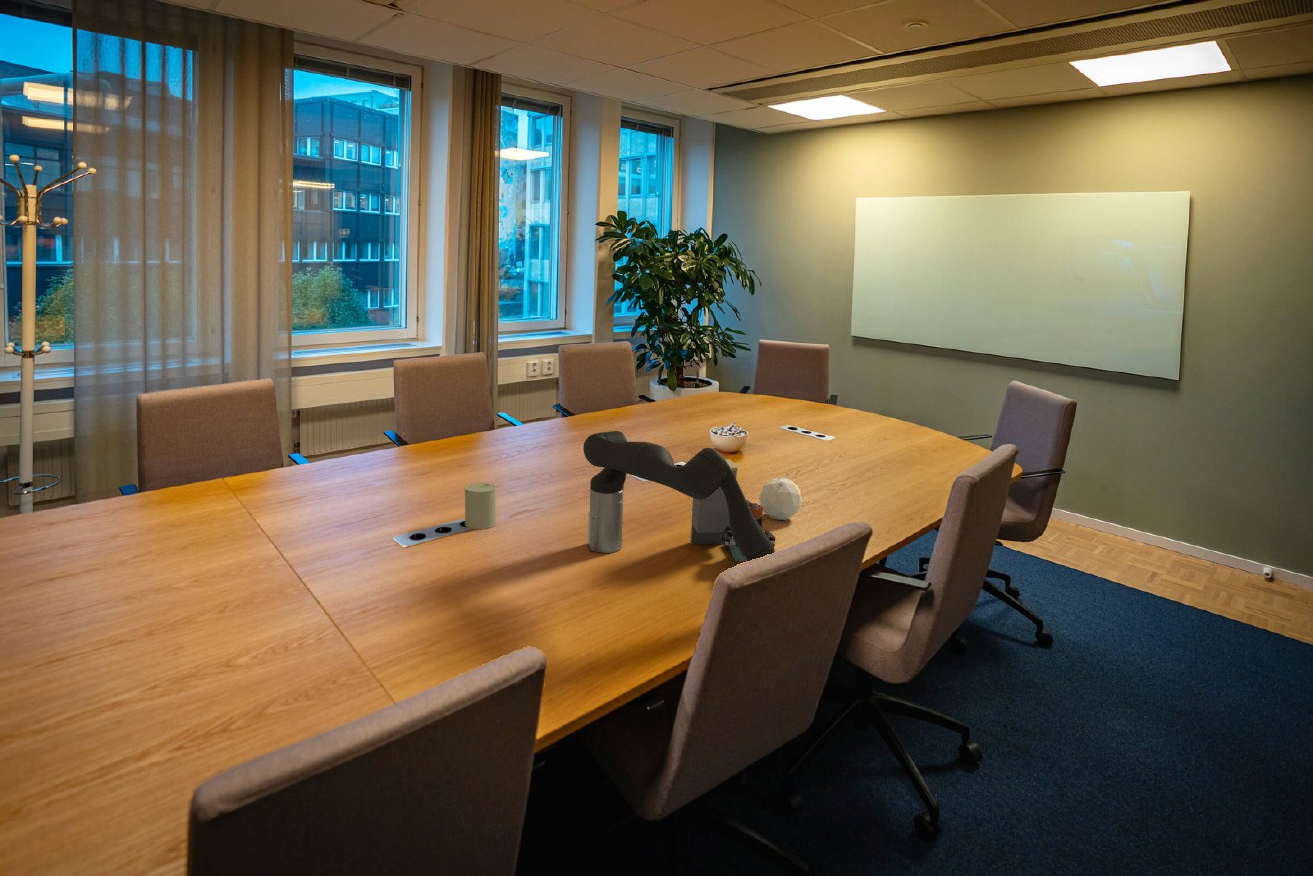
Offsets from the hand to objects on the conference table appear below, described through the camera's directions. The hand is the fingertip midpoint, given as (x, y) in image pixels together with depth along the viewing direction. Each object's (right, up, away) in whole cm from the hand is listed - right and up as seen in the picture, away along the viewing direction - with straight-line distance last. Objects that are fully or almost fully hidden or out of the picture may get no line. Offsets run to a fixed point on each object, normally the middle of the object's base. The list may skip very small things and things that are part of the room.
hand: (740, 529), depth 223 cm
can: (-76, -1, +17) cm, 78 cm away
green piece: (-1, -7, +3) cm, 8 cm away
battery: (+4, -4, +19) cm, 20 cm away
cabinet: (-8, -6, +7) cm, 12 cm away
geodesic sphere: (+16, 0, +34) cm, 37 cm away
